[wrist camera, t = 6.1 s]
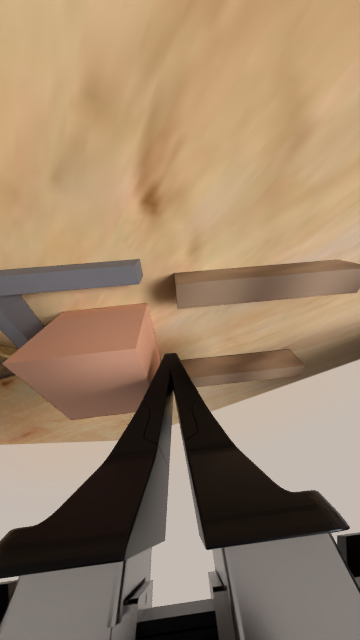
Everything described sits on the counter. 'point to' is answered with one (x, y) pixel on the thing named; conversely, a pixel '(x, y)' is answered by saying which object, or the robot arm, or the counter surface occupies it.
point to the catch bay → (16, 316)
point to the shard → (3, 354)
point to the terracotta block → (91, 360)
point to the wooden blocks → (255, 288)
